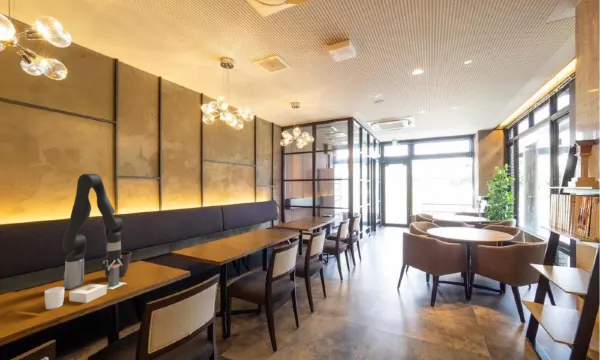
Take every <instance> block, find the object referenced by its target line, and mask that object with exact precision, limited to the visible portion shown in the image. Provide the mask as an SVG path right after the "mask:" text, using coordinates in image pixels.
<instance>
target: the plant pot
mask: <svg viewBox="0 0 600 360" xmlns="http://www.w3.org/2000/svg"><path fill="white" fill-rule="evenodd" d="M121 255H124V256H125V263H124V264H122V270H121V271H120V272H119V278H123V277H125V275H126V273H127V271H128V268H129V265H130V262H131V256H132V252H131V251H125V250H124V251H121ZM105 258H106V260H107V259H108V258H107V254H106V255H105ZM122 262H123V261H122ZM107 263H108V262H107ZM109 265H110V264H109Z"/></svg>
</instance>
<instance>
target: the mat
mask: <svg viewBox="0 0 600 360" xmlns="http://www.w3.org/2000/svg"><path fill="white" fill-rule="evenodd" d="M106 285H107V290H108V289H109V290H114V289H116V288H119V287H121V286H123V285H127V282H120V281H119V285H116V286H114V287H111V286H108V284H106Z"/></svg>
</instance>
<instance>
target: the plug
mask: <svg viewBox="0 0 600 360" xmlns="http://www.w3.org/2000/svg"><path fill="white" fill-rule="evenodd" d="M119 266H120V264H114V265H112V267H111V268H110V269H109V270H110V275H109V276H107V278H108V279H107V280H108V281H107V282H108V286H111V287H114V286H116V285H119V282H120V277H119Z"/></svg>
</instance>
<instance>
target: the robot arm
mask: <svg viewBox="0 0 600 360" xmlns="http://www.w3.org/2000/svg"><path fill="white" fill-rule="evenodd" d="M91 189H93V191H94V193H95V195H96V206H97V208H98V210H99V213H100V214H101V217H102V220H103V225H104V226H105V228H106V229H107V230H108V231H109V233H108V234H107V244H106V255H107V258H108V259H106V260H104V259H103V260H102V261H101V262H102V263H101V270H102V271H104V275H105V277H108V276H109V275H110V270H109V269H110V268H111V267H112V265H114V264H120V266H119V272H120V271H121V270H122V264H124V263H125V256H124V255H121V252H122V243H121V242H122V240H121V236H122V235H121V234H122V231H123V227H124V223H123V222H124V221H123V219H122V218H120V217H114V214H115V213H116V212H115V209H114V207H113V205H112V203H111V202H110V200H109V197H108V194H107V192H106V188H105V185H104V182H103V179H102V177H101V176H100V175H99V174H97V173H84V174H81V175H80V176H79V177H78V179H77V184H76V193H75V197H74V202H73V206H72V209H71V213H70V217H69V218H70V219H69V222H68V224H67V229H66V230H65V233H64V236H63V238H62V242H61V249H62V250H63V251H65V252H71V253H69V254H67V255H66V256H65V257H64V258H65V261H64V263H65V266H64V268H65V269H64V273H63V287H65V289H66V290H74V289H78V288H80V287H83V286H85V285H84V284H85V283H84V282H85V255H86V252H87V239H86V237H85V235H83V234H79V231H80V229H81V228H82V227H83V226H84V225H85V223H86V222H87V221H88V220H89V218H90V215H91V212H92V205H91V201H90V199H89V195H90V191H91ZM122 261H123V262H122ZM107 262H108V263H107ZM109 264H110V265H109ZM65 289H64V290H65Z"/></svg>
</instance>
